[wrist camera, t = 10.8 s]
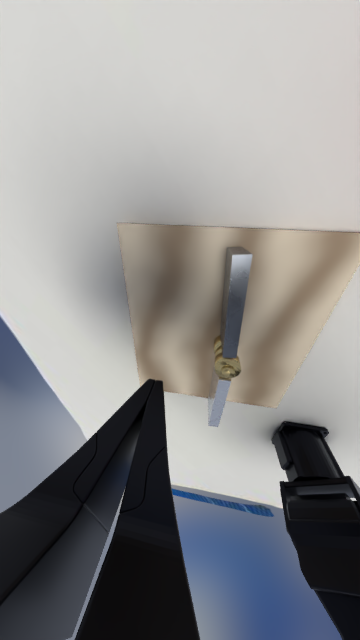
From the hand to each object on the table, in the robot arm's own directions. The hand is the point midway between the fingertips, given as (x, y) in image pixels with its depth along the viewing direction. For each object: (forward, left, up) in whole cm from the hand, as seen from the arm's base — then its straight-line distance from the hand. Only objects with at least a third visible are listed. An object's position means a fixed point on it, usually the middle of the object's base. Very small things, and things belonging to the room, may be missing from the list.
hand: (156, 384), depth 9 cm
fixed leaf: (-5, +8, -10) cm, 14 cm away
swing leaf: (-5, -1, -9) cm, 10 cm away
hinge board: (-4, +3, -11) cm, 12 cm away
